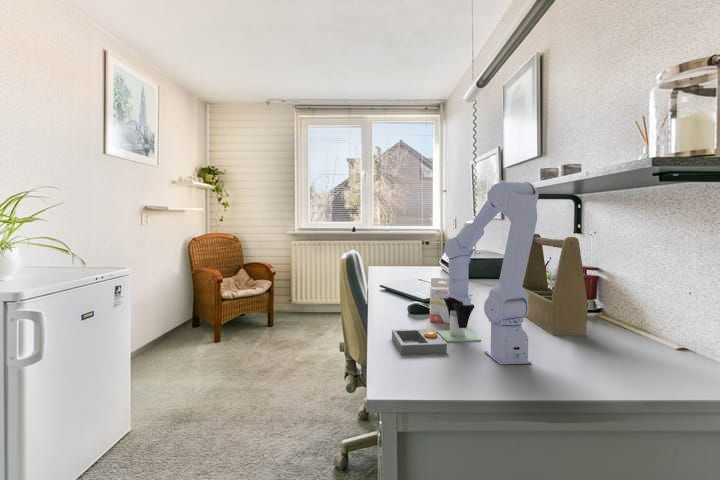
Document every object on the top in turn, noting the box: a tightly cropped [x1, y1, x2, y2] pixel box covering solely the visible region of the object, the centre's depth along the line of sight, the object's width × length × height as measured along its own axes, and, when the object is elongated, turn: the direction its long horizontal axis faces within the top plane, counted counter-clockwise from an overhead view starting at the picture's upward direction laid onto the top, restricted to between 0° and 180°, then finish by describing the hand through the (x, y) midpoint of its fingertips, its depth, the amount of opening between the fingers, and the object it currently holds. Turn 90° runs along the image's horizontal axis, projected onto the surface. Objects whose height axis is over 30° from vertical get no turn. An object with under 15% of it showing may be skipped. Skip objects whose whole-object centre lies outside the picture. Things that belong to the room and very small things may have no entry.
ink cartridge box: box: [429, 277, 450, 324], centre depth 132 cm, size 9×5×15 cm, turn 84°
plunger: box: [424, 331, 438, 338], centre depth 106 cm, size 4×4×3 cm
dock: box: [391, 328, 448, 356], centre depth 106 cm, size 14×12×2 cm
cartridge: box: [449, 310, 466, 337], centre depth 114 cm, size 4×4×7 cm
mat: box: [436, 329, 482, 343], centre depth 114 cm, size 10×10×1 cm
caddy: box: [522, 233, 589, 337], centre depth 129 cm, size 29×11×30 cm, turn 176°
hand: (458, 324), depth 114 cm, fingers open, 7 cm apart
